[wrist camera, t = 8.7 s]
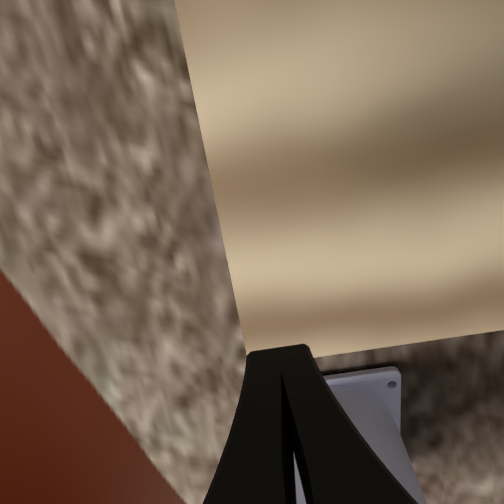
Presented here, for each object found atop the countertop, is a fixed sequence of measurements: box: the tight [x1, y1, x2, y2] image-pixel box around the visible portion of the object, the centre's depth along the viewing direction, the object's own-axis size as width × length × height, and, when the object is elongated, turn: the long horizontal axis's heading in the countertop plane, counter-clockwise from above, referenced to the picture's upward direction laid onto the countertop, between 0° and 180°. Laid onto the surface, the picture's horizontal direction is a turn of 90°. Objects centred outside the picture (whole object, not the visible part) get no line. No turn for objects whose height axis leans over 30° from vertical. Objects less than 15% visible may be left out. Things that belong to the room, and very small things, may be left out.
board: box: [174, 0, 504, 358], centre depth 18 cm, size 16×13×3 cm
